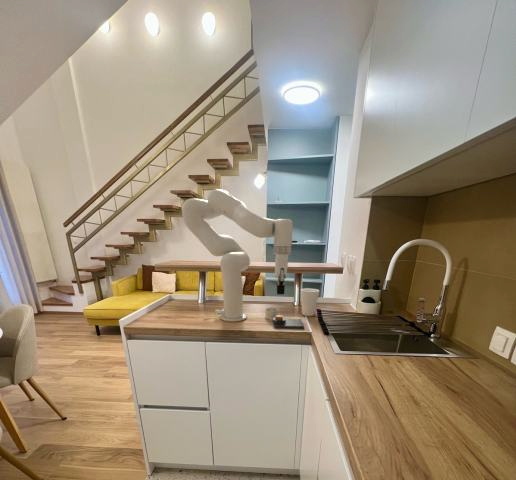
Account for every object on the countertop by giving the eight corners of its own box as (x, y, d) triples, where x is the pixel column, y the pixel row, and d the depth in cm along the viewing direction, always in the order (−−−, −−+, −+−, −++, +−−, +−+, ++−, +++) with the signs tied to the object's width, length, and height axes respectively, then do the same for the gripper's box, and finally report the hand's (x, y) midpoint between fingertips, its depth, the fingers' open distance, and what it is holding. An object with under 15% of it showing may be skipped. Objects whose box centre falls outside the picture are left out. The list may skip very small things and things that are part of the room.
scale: (272, 328, 127) (273, 322, 126) (272, 321, 137) (272, 315, 136) (303, 329, 127) (304, 322, 126) (300, 321, 137) (301, 315, 136)
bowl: (265, 320, 139) (265, 311, 137) (265, 316, 145) (265, 307, 143) (278, 320, 138) (279, 311, 137) (278, 316, 145) (278, 307, 143)
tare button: (275, 320, 129) (276, 316, 129) (275, 318, 132) (275, 314, 132) (282, 320, 129) (282, 317, 129) (282, 318, 132) (282, 315, 132)
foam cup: (316, 312, 153) (318, 288, 148) (317, 317, 145) (320, 292, 140) (298, 311, 154) (300, 288, 149) (299, 316, 145) (301, 291, 140)
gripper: (273, 249, 127) (271, 289, 134) (274, 251, 112) (272, 297, 119) (289, 249, 127) (287, 290, 134) (293, 252, 112) (290, 297, 119)
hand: (280, 293), depth 126 cm, fingers closed
